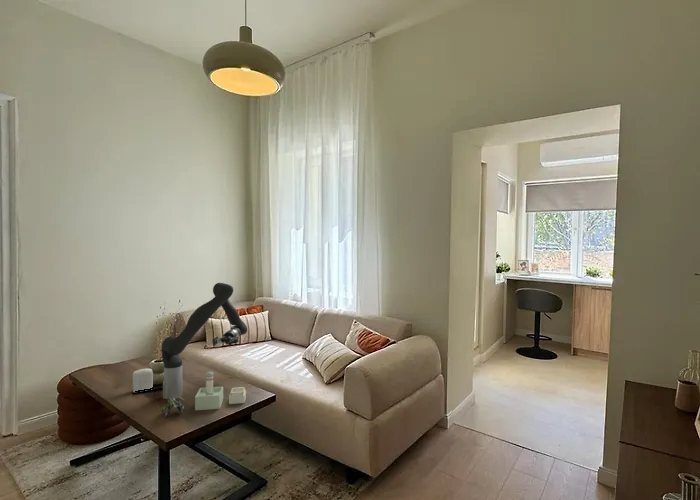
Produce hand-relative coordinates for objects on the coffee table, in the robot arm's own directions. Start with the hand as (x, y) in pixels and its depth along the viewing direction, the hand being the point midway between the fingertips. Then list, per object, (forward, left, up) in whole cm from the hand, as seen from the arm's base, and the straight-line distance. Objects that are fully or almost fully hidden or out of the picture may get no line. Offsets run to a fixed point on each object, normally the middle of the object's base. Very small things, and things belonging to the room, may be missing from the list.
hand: (221, 343), depth 218 cm
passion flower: (-20, -26, -28) cm, 43 cm away
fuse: (-4, -16, -23) cm, 28 cm away
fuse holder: (+10, -13, -28) cm, 33 cm away
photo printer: (-46, +10, -28) cm, 55 cm away
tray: (-4, -16, -28) cm, 33 cm away
